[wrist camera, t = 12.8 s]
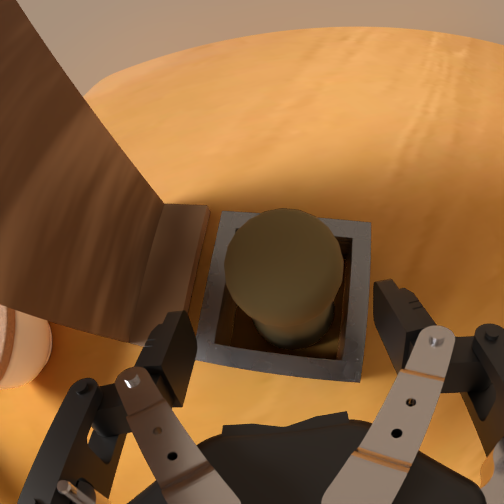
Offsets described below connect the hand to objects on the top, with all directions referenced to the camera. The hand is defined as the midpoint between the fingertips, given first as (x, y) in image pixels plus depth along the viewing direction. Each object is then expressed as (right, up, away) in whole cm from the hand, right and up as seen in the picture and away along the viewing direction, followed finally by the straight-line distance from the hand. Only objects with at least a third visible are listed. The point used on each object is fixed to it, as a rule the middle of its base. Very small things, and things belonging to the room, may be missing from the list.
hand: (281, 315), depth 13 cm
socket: (+2, -1, +9) cm, 10 cm away
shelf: (-1, 0, +10) cm, 11 cm away
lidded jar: (-23, -6, +12) cm, 27 cm away
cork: (+2, -1, +10) cm, 10 cm away
